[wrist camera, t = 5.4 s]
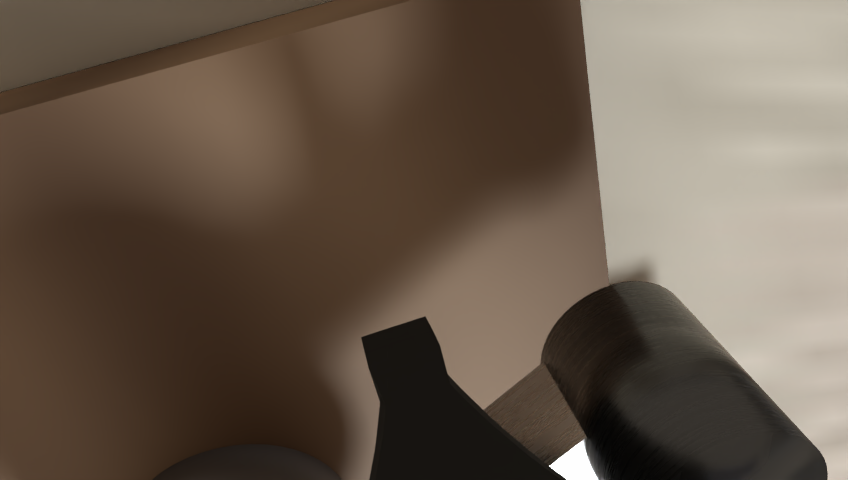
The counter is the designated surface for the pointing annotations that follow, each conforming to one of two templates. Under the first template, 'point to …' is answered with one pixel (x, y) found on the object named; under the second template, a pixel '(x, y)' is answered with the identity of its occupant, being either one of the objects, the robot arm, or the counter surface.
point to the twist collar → (649, 399)
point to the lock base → (287, 234)
